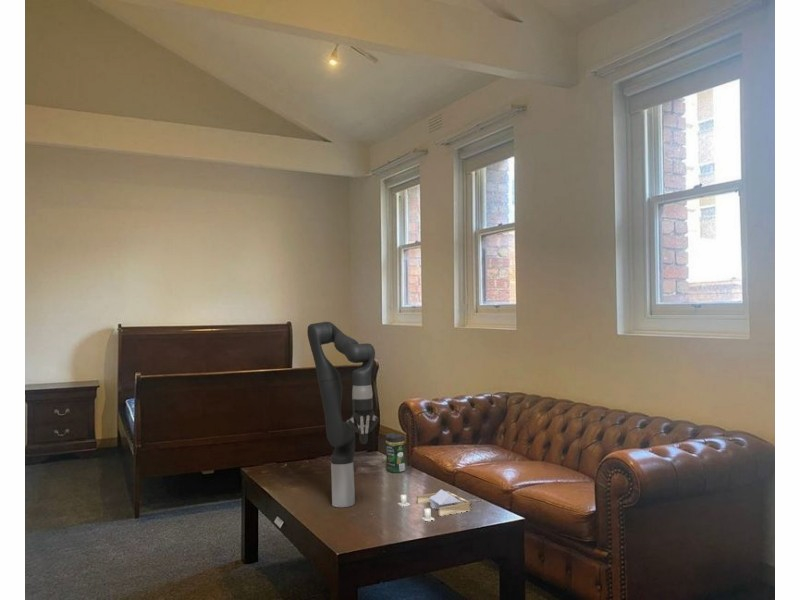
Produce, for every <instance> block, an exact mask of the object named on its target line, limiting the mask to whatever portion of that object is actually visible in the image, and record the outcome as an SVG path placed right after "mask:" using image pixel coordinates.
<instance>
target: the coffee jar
mask: <svg viewBox="0 0 800 600" xmlns="http://www.w3.org/2000/svg"><path fill="white" fill-rule="evenodd" d="M385 447H386V448H385V449H386V458H385V459H386V460H385V463H386V467H385V469H386V471H388V472H390V473H393V474H399V473H401V474H402V473H403V472H405V471H406V459H405V436H404V435H403V434H399V433H397V432H396V433H395V432H391V433H387V434H386V435H385Z"/></svg>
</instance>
